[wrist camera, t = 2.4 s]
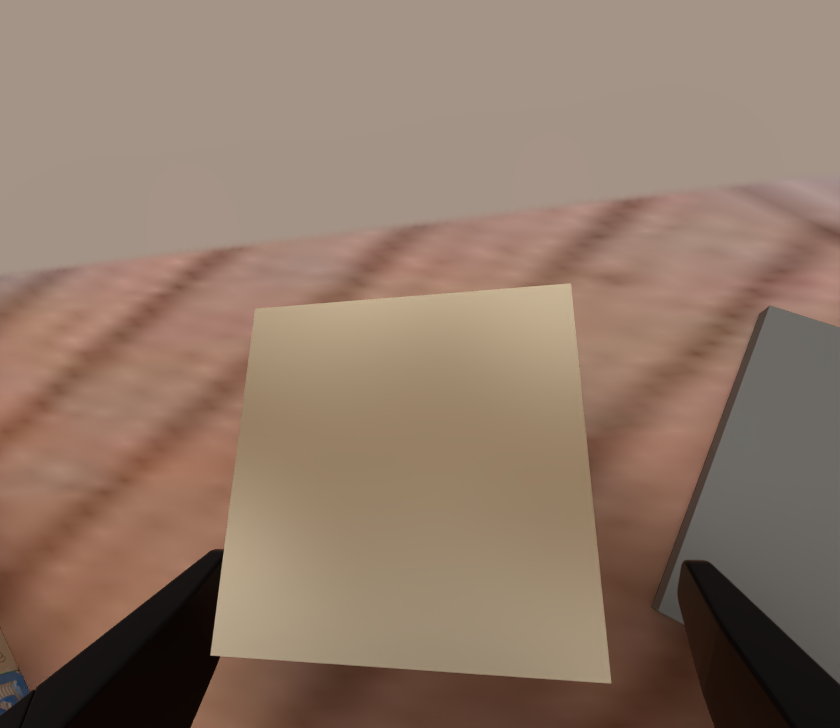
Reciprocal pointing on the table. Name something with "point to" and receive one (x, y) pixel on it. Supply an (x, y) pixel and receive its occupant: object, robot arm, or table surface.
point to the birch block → (416, 490)
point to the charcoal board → (775, 486)
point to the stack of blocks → (9, 678)
